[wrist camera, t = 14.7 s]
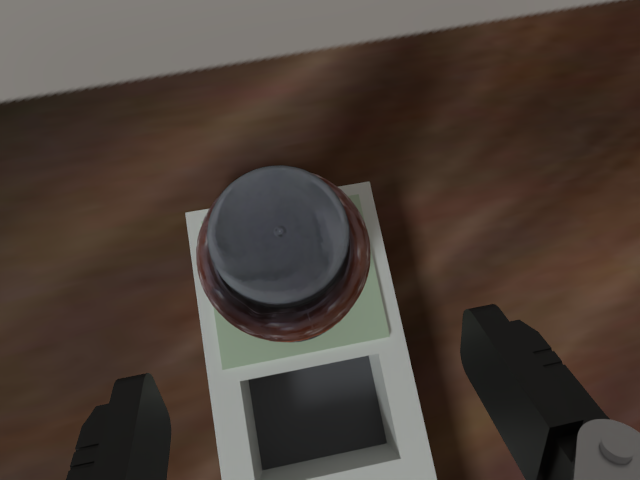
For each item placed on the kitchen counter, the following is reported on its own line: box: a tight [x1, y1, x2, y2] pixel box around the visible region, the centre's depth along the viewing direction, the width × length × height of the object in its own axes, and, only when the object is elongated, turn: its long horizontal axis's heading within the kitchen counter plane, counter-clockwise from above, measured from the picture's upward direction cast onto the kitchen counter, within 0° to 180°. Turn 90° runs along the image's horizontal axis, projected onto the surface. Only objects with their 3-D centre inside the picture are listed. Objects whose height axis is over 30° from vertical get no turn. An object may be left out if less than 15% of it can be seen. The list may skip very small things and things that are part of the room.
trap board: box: [185, 181, 437, 480], centre depth 25 cm, size 10×22×4 cm, turn 11°
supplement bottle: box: [196, 165, 371, 342], centre depth 18 cm, size 6×6×11 cm
